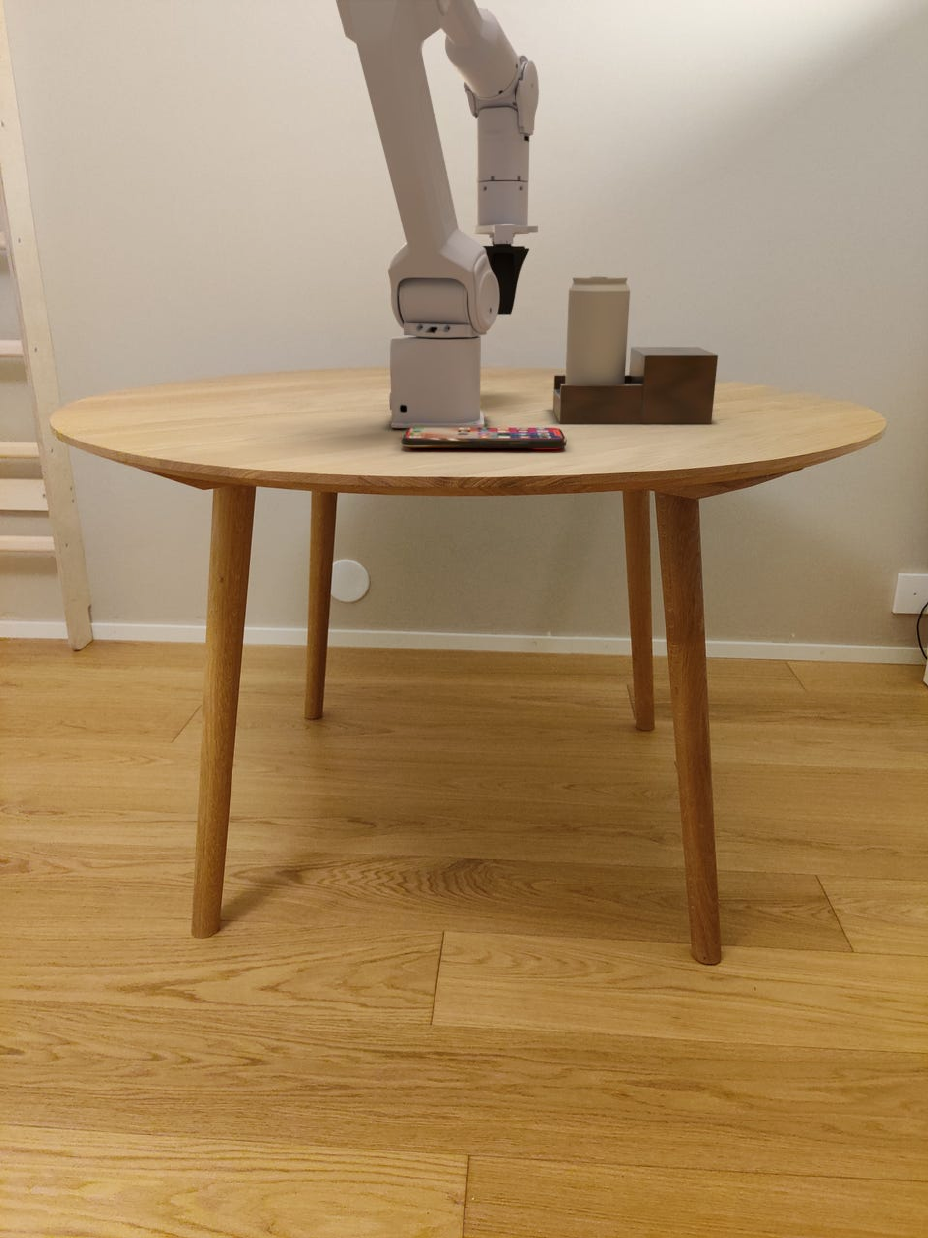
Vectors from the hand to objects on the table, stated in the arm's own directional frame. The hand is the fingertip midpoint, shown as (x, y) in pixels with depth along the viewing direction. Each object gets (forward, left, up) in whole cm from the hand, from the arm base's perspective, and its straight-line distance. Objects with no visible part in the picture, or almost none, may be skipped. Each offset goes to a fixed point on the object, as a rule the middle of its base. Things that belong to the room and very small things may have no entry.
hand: (500, 312), depth 106 cm
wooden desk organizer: (+14, -10, -10) cm, 20 cm away
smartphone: (-2, -26, -10) cm, 28 cm away
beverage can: (+10, -10, -8) cm, 16 cm away
